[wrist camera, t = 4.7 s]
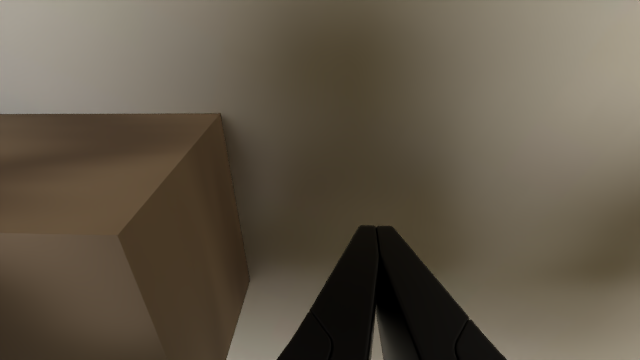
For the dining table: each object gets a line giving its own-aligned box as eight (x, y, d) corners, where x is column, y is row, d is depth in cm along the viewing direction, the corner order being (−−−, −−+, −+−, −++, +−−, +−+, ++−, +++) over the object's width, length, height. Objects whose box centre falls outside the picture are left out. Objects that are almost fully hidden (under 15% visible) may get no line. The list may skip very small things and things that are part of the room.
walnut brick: (221, 111, 9) (117, 235, 5) (251, 277, 12) (201, 442, 8) (-30, 112, 10) (-319, 226, 6) (58, 272, 13) (-85, 425, 9)
